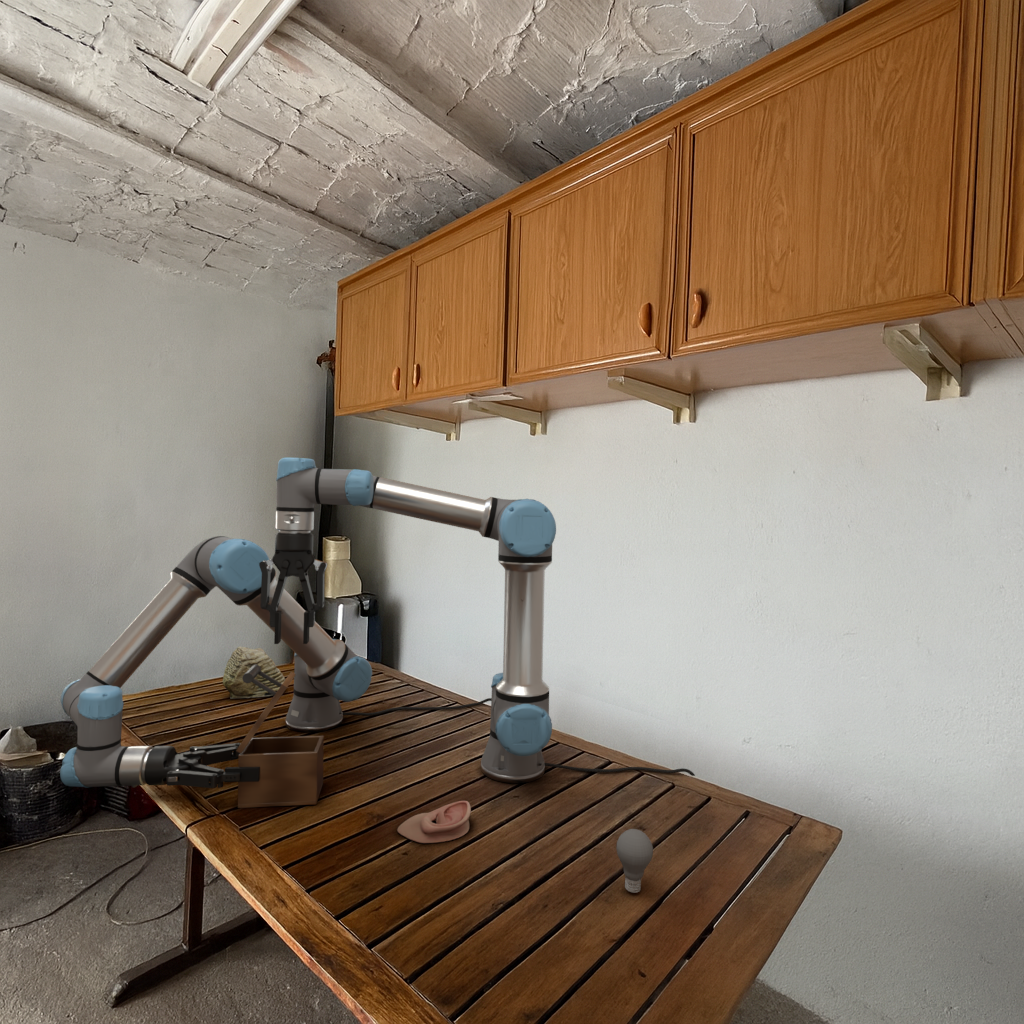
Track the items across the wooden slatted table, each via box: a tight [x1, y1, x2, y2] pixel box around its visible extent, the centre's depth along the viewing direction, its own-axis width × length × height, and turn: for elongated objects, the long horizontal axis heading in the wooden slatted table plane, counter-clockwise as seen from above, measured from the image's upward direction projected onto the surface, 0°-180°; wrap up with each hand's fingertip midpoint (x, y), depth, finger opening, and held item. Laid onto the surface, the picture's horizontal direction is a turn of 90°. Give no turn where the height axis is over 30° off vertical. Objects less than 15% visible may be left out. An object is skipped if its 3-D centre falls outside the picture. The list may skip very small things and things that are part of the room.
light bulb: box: [615, 828, 654, 894], centre depth 106 cm, size 6×6×10 cm
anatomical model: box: [396, 800, 472, 844], centre depth 123 cm, size 13×4×12 cm
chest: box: [237, 735, 325, 809], centre depth 133 cm, size 15×9×11 cm, turn 99°
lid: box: [236, 665, 296, 753], centre depth 132 cm, size 16×9×9 cm
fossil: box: [222, 646, 286, 699], centre depth 198 cm, size 9×18×15 cm, turn 132°
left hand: (265, 763), depth 133 cm, fingers closed on chest, 9 cm apart
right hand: (291, 642), depth 133 cm, fingers open, 5 cm apart
